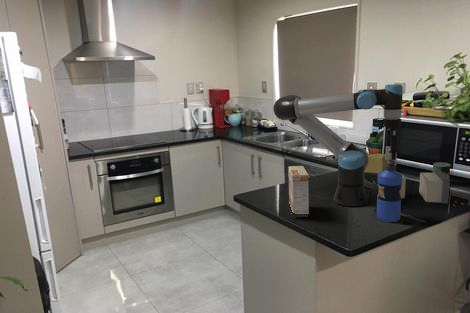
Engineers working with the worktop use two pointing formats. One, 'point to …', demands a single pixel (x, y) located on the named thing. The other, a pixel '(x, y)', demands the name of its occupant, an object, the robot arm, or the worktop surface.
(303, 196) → the coffeecake box
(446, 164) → the canned tomato
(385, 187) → the water bottle
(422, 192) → the beige stepped block
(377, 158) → the cheese
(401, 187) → the beige box
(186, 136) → the worktop surface
